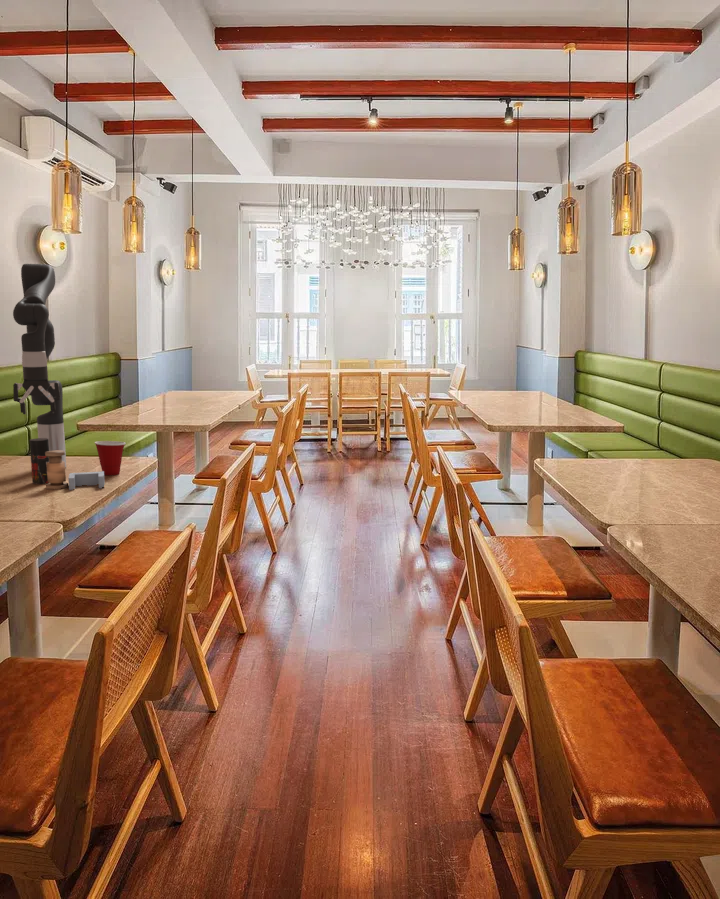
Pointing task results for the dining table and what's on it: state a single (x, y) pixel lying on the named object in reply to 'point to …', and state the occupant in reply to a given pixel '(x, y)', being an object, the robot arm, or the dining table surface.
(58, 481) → the bobbin
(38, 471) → the deodorant
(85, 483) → the notch board
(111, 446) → the plastic cup
